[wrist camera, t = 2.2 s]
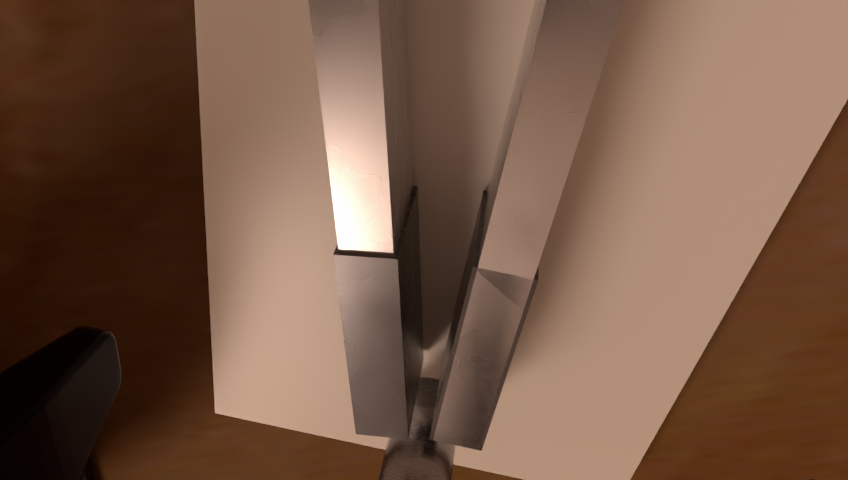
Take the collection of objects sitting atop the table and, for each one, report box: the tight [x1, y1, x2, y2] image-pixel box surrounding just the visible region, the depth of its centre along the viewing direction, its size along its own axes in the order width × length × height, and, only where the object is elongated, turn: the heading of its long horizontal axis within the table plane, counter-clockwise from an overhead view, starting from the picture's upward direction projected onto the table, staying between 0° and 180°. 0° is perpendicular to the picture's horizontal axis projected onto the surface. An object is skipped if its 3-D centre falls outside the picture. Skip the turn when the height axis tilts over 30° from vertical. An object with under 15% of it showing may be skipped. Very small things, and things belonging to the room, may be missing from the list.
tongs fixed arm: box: [379, 0, 625, 480], centre depth 15 cm, size 19×4×4 cm, turn 171°
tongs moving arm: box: [308, 0, 424, 439], centre depth 15 cm, size 16×3×3 cm, turn 2°
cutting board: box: [194, 0, 848, 480], centre depth 17 cm, size 23×14×1 cm, turn 172°
